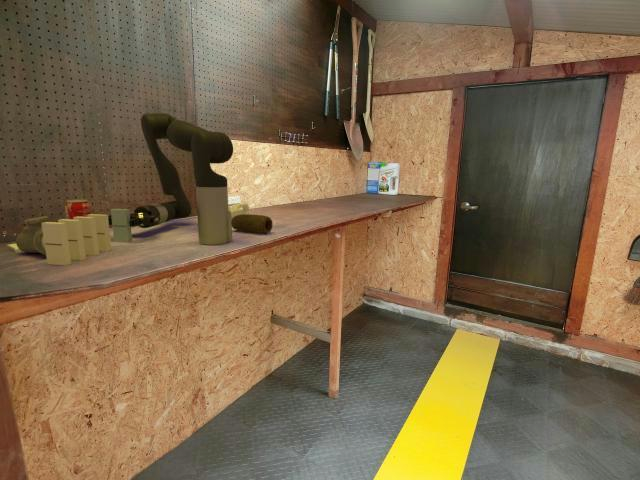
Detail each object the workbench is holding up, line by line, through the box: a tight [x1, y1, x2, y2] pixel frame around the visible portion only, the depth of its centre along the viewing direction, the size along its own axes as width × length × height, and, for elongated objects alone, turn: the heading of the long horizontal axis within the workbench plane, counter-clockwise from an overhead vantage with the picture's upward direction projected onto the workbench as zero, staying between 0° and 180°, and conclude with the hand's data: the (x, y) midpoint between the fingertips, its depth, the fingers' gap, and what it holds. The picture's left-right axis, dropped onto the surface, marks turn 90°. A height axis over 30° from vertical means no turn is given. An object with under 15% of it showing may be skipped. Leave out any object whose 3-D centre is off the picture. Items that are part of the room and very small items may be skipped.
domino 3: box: [73, 216, 100, 257], centre depth 94 cm, size 2×5×10 cm, turn 81°
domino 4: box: [87, 213, 113, 253], centre depth 98 cm, size 2×5×10 cm, turn 81°
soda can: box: [64, 199, 93, 220], centre depth 113 cm, size 7×7×12 cm
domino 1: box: [41, 221, 72, 266], centre depth 85 cm, size 2×5×10 cm, turn 81°
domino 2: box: [57, 218, 87, 261], centre depth 90 cm, size 2×5×10 cm, turn 81°
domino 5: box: [110, 208, 133, 243], centre depth 110 cm, size 2×5×10 cm, turn 81°
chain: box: [228, 202, 250, 219], centre depth 152 cm, size 30×6×6 cm, turn 158°
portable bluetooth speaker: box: [231, 213, 273, 235], centre depth 128 cm, size 15×7×7 cm, turn 66°
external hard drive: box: [6, 243, 24, 254], centre depth 103 cm, size 2×8×12 cm
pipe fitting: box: [15, 215, 50, 256], centre depth 94 cm, size 12×8×10 cm
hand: (117, 222), depth 108 cm, fingers open, 8 cm apart
